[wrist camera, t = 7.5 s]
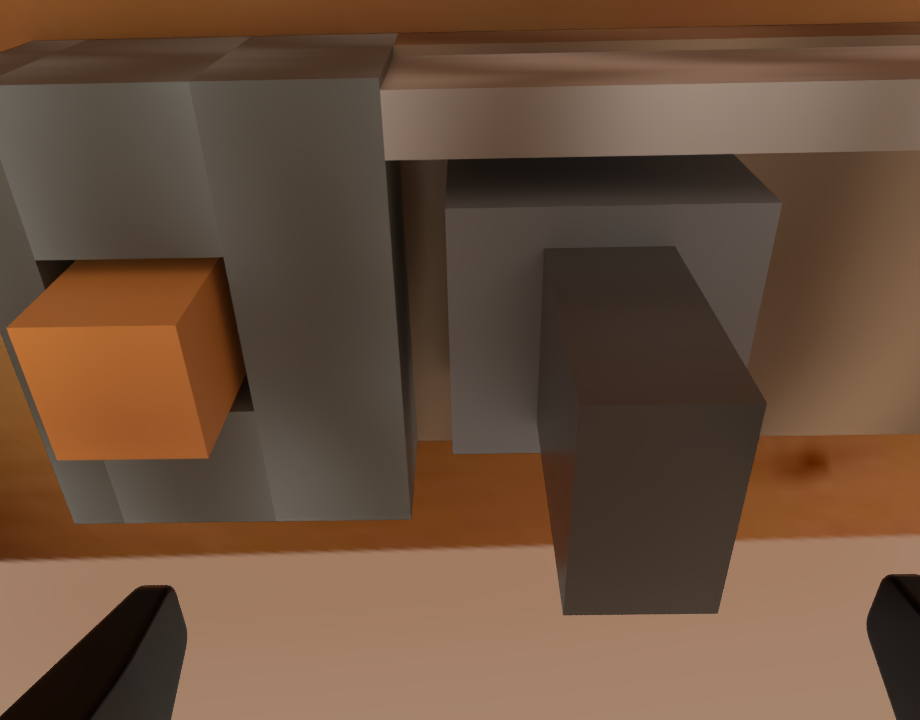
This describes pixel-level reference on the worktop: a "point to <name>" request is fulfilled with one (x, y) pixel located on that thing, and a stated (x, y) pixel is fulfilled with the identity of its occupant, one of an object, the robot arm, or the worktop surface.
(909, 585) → the robot arm
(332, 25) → the worktop surface
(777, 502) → the worktop surface
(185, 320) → the button
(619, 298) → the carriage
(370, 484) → the rail
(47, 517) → the worktop surface
